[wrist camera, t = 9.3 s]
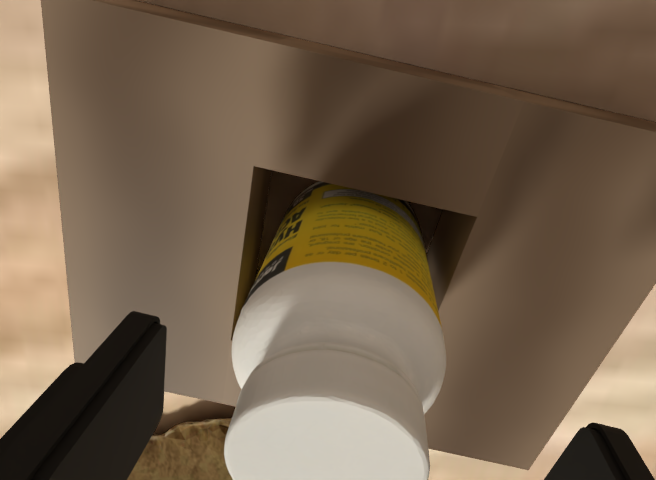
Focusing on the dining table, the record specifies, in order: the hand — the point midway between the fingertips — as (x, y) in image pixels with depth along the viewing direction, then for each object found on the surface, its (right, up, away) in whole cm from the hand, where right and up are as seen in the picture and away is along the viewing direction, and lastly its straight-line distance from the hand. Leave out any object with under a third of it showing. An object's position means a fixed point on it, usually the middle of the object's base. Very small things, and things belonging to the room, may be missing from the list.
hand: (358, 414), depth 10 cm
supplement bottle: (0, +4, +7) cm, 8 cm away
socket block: (0, +4, +7) cm, 8 cm away
